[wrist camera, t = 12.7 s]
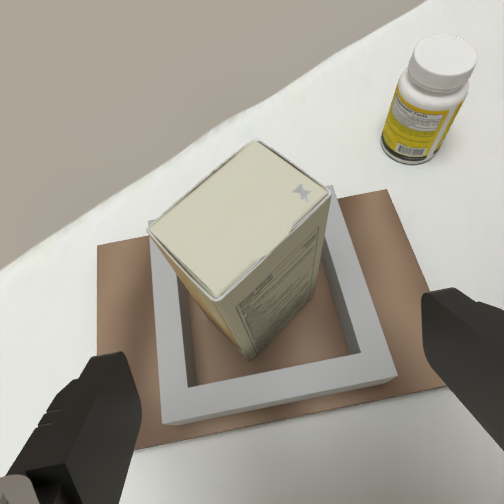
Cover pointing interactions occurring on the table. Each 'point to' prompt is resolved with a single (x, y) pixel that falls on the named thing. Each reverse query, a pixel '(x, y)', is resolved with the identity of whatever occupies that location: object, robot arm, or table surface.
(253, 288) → the skincare box
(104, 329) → the board
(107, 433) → the robot arm
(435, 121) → the supplement bottle
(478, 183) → the table surface
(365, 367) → the collar
